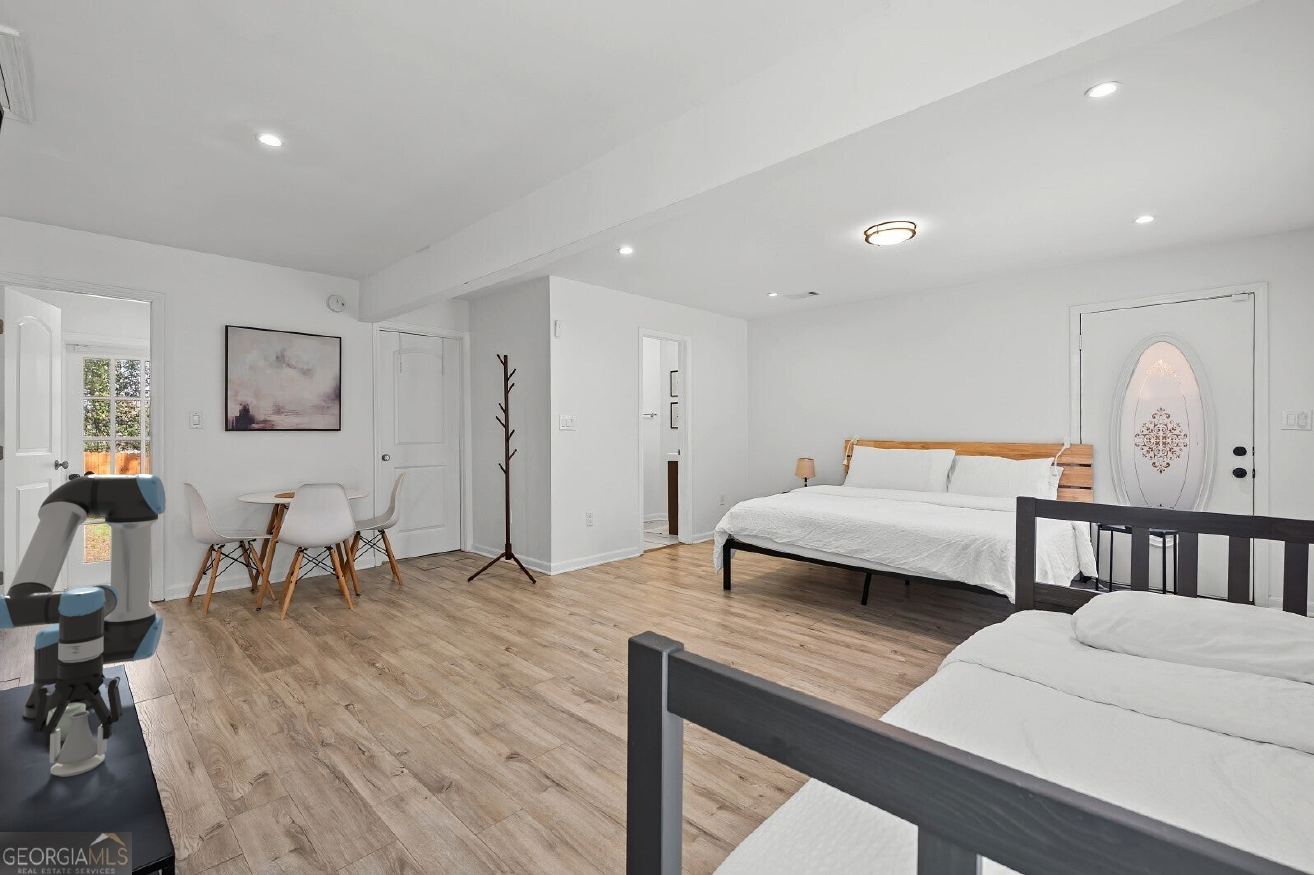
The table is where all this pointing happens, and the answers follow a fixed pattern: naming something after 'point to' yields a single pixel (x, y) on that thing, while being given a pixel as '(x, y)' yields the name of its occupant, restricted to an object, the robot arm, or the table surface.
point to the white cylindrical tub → (66, 718)
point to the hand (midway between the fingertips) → (78, 756)
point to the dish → (76, 767)
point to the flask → (78, 741)
